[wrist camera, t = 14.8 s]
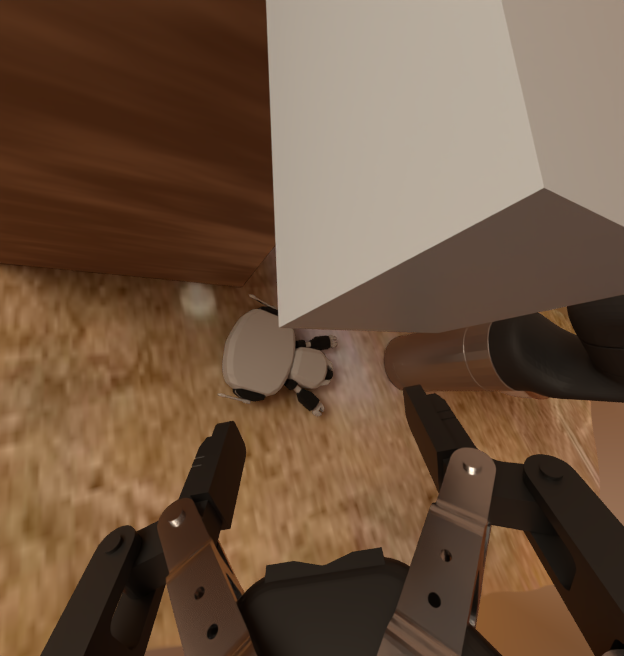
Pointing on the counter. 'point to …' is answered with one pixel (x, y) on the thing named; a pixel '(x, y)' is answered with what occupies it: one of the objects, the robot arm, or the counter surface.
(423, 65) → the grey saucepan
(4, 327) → the counter surface
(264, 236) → the wooden box
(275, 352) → the robot toy
